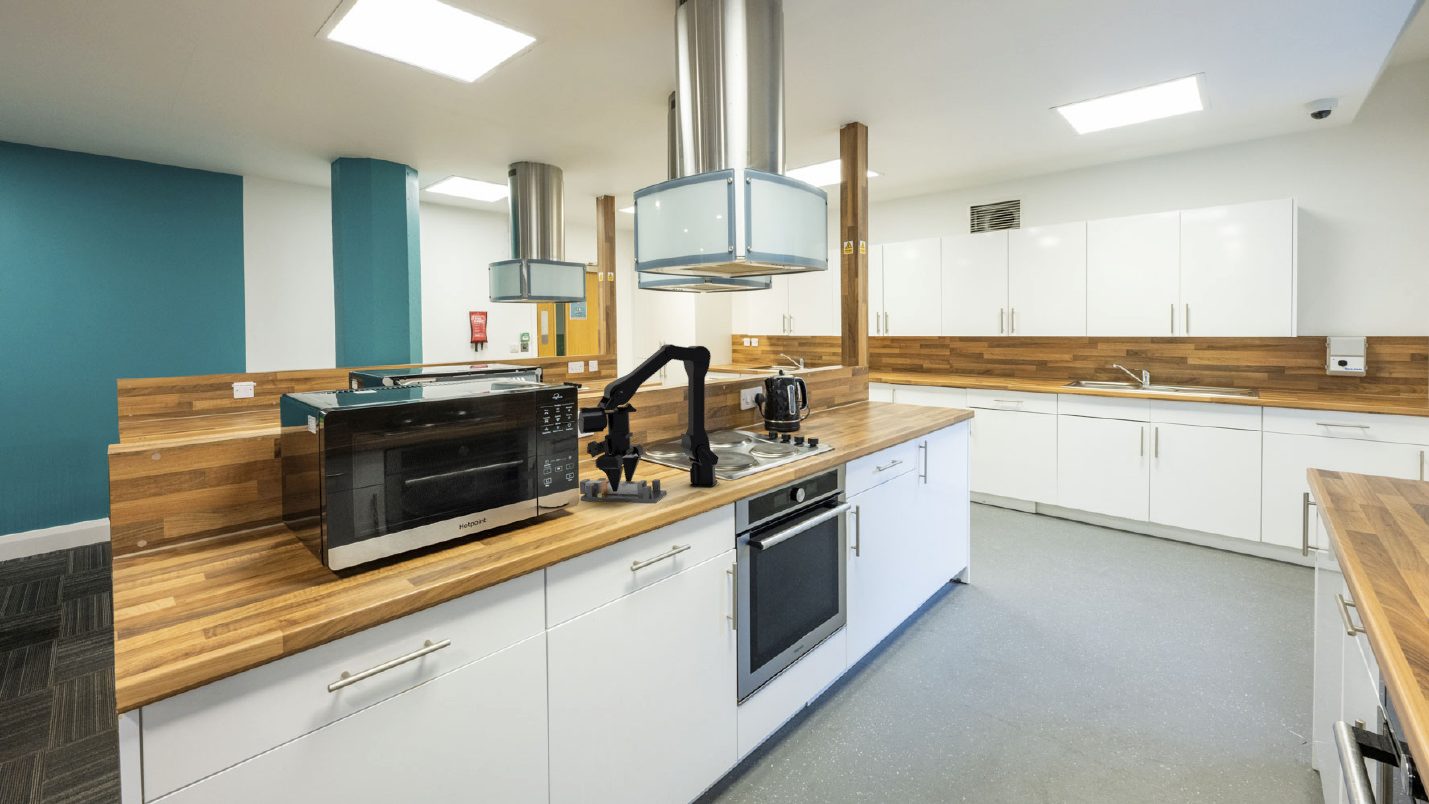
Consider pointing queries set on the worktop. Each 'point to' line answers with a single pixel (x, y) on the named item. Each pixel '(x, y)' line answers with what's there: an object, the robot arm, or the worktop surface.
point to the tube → (606, 488)
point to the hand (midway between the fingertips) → (622, 487)
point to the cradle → (647, 497)
